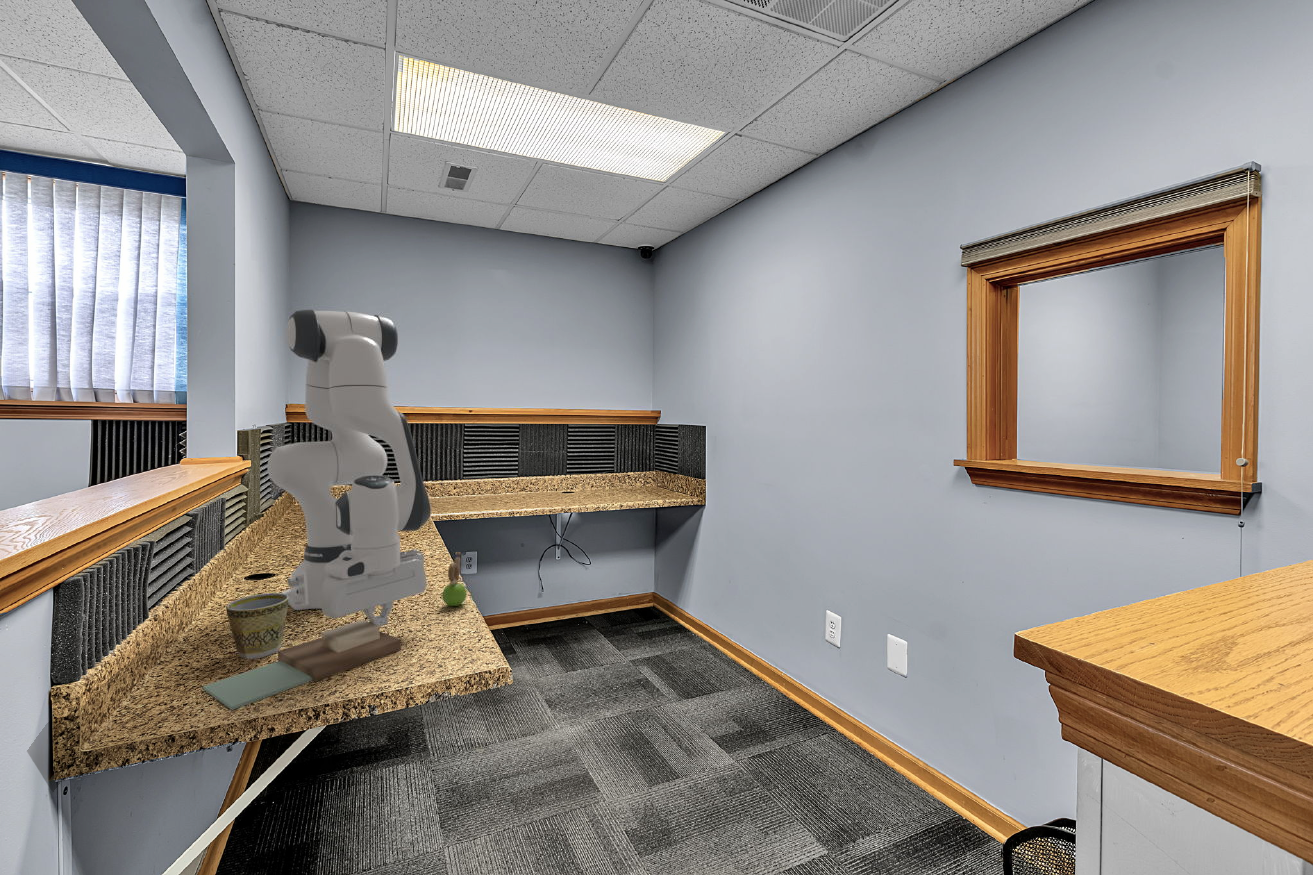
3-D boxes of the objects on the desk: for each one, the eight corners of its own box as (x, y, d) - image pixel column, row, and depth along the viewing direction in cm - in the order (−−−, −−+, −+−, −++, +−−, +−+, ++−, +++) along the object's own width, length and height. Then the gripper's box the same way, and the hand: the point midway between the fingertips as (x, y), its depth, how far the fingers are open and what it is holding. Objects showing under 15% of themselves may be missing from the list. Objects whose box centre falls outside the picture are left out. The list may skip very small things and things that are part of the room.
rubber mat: (202, 689, 99) (202, 686, 99) (280, 663, 109) (280, 660, 109) (231, 709, 92) (231, 706, 92) (312, 680, 102) (312, 677, 102)
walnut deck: (278, 661, 109) (277, 651, 109) (362, 633, 123) (362, 624, 122) (315, 681, 101) (314, 670, 101) (401, 649, 115) (400, 639, 114)
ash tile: (322, 645, 112) (321, 632, 112) (363, 631, 118) (362, 619, 118) (338, 652, 108) (337, 639, 108) (379, 638, 115) (379, 625, 115)
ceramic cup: (281, 659, 111) (279, 607, 110) (219, 666, 108) (216, 612, 107) (301, 633, 123) (299, 586, 122) (246, 639, 120) (244, 591, 120)
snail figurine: (470, 600, 143) (469, 551, 143) (463, 609, 137) (461, 558, 136) (448, 600, 143) (447, 551, 142) (439, 609, 137) (438, 558, 136)
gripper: (414, 545, 127) (416, 608, 128) (315, 567, 111) (318, 639, 111) (431, 549, 124) (433, 613, 125) (333, 572, 107) (335, 646, 108)
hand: (378, 626), depth 118 cm, fingers closed
